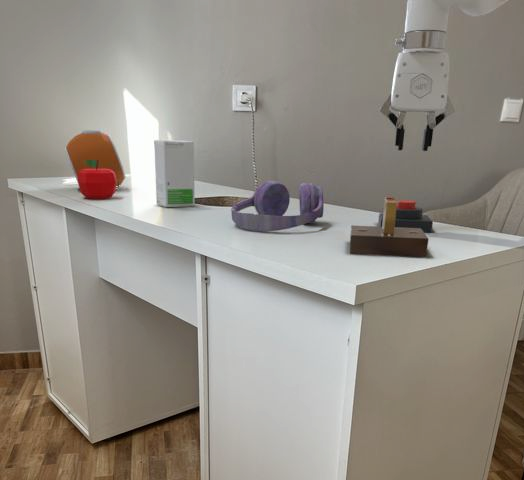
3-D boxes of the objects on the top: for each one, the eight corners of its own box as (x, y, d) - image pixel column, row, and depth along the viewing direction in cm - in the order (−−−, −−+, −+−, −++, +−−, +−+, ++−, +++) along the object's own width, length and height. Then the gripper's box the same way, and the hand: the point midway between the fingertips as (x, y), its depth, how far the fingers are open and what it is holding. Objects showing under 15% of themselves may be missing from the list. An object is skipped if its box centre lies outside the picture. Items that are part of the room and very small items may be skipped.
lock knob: (393, 234, 90) (397, 200, 88) (383, 233, 90) (387, 200, 88) (391, 228, 95) (394, 197, 93) (381, 228, 95) (385, 196, 93)
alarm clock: (129, 191, 169) (125, 130, 163) (68, 192, 164) (62, 129, 158) (123, 185, 186) (119, 130, 180) (68, 186, 181) (62, 129, 175)
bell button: (413, 209, 115) (414, 200, 114) (415, 211, 112) (416, 202, 111) (396, 208, 115) (396, 200, 115) (397, 210, 112) (398, 202, 111)
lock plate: (419, 245, 97) (421, 227, 96) (426, 257, 88) (428, 237, 87) (349, 242, 99) (351, 224, 98) (349, 253, 90) (351, 234, 88)
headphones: (261, 211, 128) (216, 238, 113) (259, 175, 124) (212, 198, 108) (336, 218, 120) (299, 248, 105) (337, 180, 116) (298, 205, 101)
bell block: (425, 225, 118) (428, 206, 117) (431, 232, 110) (434, 212, 109) (378, 223, 120) (379, 204, 118) (380, 230, 111) (382, 210, 110)
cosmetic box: (165, 208, 137) (162, 140, 131) (155, 204, 142) (152, 139, 136) (196, 206, 141) (194, 140, 135) (185, 203, 146) (183, 140, 140)
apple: (113, 195, 160) (110, 158, 157) (123, 199, 152) (120, 160, 148) (75, 196, 156) (71, 158, 152) (83, 200, 147) (79, 160, 143)
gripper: (378, 42, 100) (369, 150, 107) (475, 42, 98) (459, 152, 105) (376, 48, 107) (368, 148, 114) (467, 48, 105) (453, 150, 112)
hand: (412, 149), depth 109 cm, fingers open, 4 cm apart
